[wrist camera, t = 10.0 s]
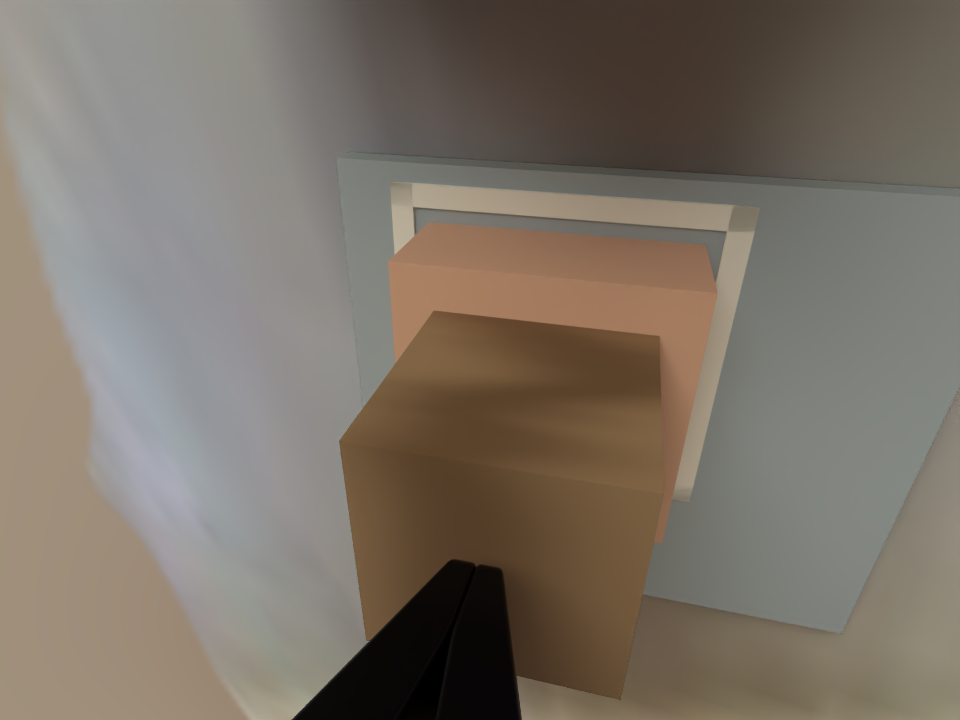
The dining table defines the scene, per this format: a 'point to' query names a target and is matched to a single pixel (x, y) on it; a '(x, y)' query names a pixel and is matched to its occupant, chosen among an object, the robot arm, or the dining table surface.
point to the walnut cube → (516, 483)
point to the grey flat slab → (736, 351)
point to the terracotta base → (569, 299)
